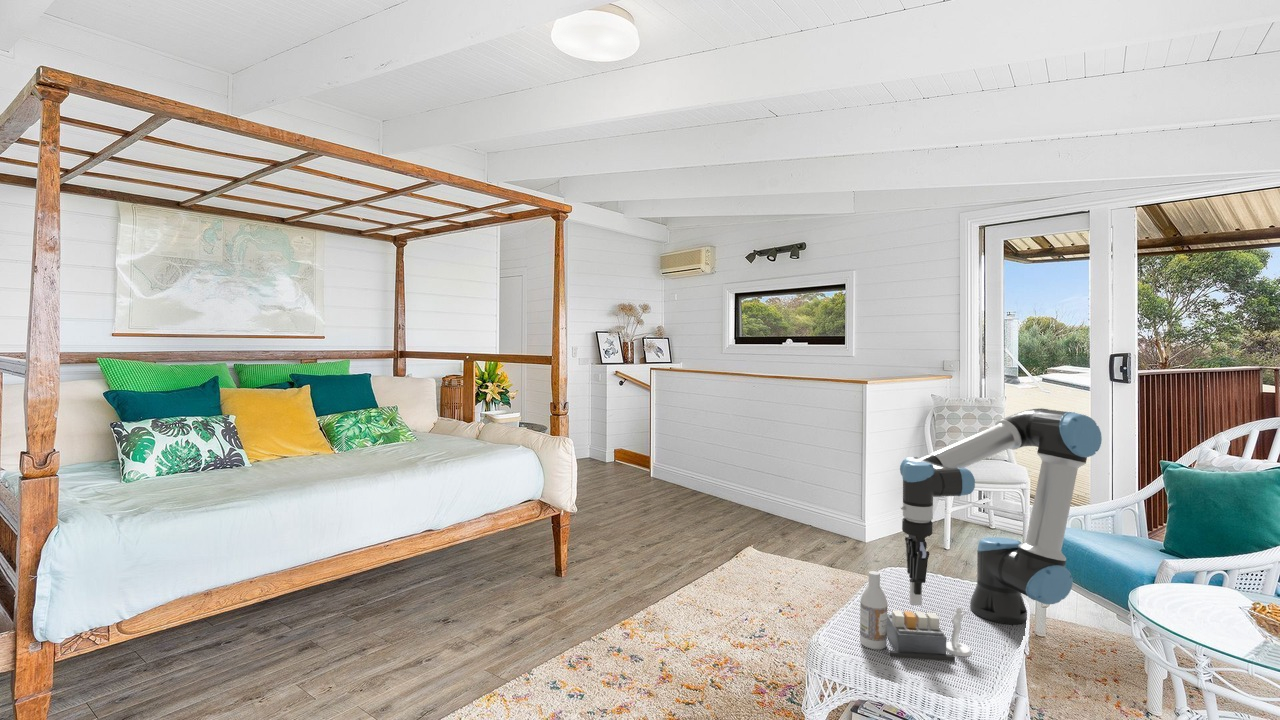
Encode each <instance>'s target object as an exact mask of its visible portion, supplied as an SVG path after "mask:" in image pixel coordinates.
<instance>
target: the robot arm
mask: <svg viewBox="0 0 1280 720" xmlns="http://www.w3.org/2000/svg"><path fill="white" fill-rule="evenodd" d="M1102 440H1103V439H1102V432H1101V429H1100V426H1099V425H1098V424H1097V423H1096V421H1095V420H1094V419H1093V418H1091V417H1090V416H1089V415H1086V414H1082V413H1078V412H1075V411H1074V412H1072V411H1063V410H1062V411H1061V410H1056V409H1048V408H1032V409H1027V410H1024V411H1020V412H1017V413H1014V414H1011V415H1008V416H1006V417H1004V418H1001V419H999V420H997V421H996V422H995V424H994V426H992V427H989V428H987V429H984V430H983V431H980V432H978V433H975V434H973V435H971V436H968V437H966V438H963V439H962V440H959V441H957V442H954V443H953V444H950V445H947V446H944V447H943V448H940V449H938V450H936V451H935V450H934V452H930V453H929V454H926V455H924V456H921V457H917V456H908V457H905V458H904V459H903V460H902V461H901V463H900V466H899V471H900V475H901V477H902V506H900V509H901V510H902V516H903V518H902V519H901V521H902V522H901V530H902V532H903V533H904V534H906V535H908V536H905V538H904V541H905V547H906V548H905V551H906V553H905V554H906V569H907V570H906V572H907V574H909V604H910V605H911V606H921V607H922V605H923V584H925V583H926V582H927V581H926V579H927V570H928V562H929V558H930V551H927V548H928V547H927V546H928V545H927V542H926V538H927V537H931V536H932V535H933V521H932V520H933V519H934V498H939V497H961V496H969V495H971V494H972V493H973V492H974V490H975V488H976V487H975V486H976V479H975V476H974V474H973V473H972V471H971V470H969V469H968V468H967V467H969V466H971V465H974V464H976V463H979V462H981V461H983V460H985V459H988V458H990V457H992V456H994V455H997V454H999V453H1001V452H1003V451H1007V450H1013V451H1014V450H1018V449H1020V448H1023V447H1036V448H1037V451H1036V452H1037V453H1036V454H1037V455H1038V456H1039V458H1040V460H1041V464H1040V469H1039V474H1038V478H1037V484H1036V488H1035V495H1034V499H1033V504H1032V509H1031V513H1030V519H1029V523H1028V524H1029V525H1028V528H1027V533H1026V537H1025V541H1024V542H1022V541H1020V540H1018V539H1014V538H1010V537H1009V538H1008V537H1000V536H999V537H996V536H992V537H991V536H990V537H987V536H986V537H983V538H981V539H980V540H979V541H978V544H977V550H976V552H977V556H976V557H977V558H976V559H977V564H976V565H977V567H976V568H977V569H976V570H977V571H976V572H977V575H976V578H977V579H976V582H977V583H976V586H975V589H974V591H973V593H972V596H971V599H970V600H969V601H970V602H969V603H970V604H969V605H970V606H969V608H970V611H971V612H972V613H974V614H975V615H976V616H978V617H980V618H982V619H984V620H988V621H991V622H994V623H1000V624H1003V625H1004V624H1006V625H1018V624H1019V625H1020V624H1023V623H1026V622H1027V620H1028V610H1027V607H1026V605H1025V601H1024V598H1023V596H1022V595H1024V596H1026V597H1028V598H1029V599H1031V600H1032V601H1035V602H1036V601H1037V602H1039V603H1041V604H1044V605H1054V604H1055V605H1056V604H1058V603H1060V602H1062V600H1065V599H1066V598H1067V597H1068V596H1069V594H1070V592H1071V590H1072V588H1073V584H1074V583H1073V581H1074V580H1073V576H1072V573H1071V572H1070V571H1069V569H1068V568H1067V567H1066V563H1067V557H1066V556H1065V555H1064V554H1063V551H1062V549H1063V543H1064V539H1065V533H1066V529H1067V523H1068V519H1069V513H1070V510H1071V505H1072V501H1073V500H1072V499H1073V494H1074V489H1075V484H1076V481H1077V480H1076V479H1077V474H1078V470H1079V468H1080V467H1083V466H1085V465H1086V464H1087V459H1088V458H1089V457H1093V456H1094V455H1096V453H1097V452H1099V450H1100V448H1101V446H1102Z"/></svg>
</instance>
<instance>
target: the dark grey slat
mask: <svg viewBox="0 0 1280 720" xmlns="http://www.w3.org/2000/svg"><path fill="white" fill-rule="evenodd" d="M889 656H890V657H891V658H900V659H913V660H914V659H915V660H928V661H941V662H942V661H944V662H955V661H956V657H955V656H956V655H953V654H950V653H946V655H935V654H920V653H906V652H898V651H895V650H892V649H890V650H889Z"/></svg>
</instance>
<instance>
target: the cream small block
mask: <svg viewBox="0 0 1280 720" xmlns="http://www.w3.org/2000/svg"><path fill="white" fill-rule="evenodd" d="M891 614H892V622H893V623H894V625H895V627H904V613H902V611H901V610H892V612H891Z"/></svg>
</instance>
